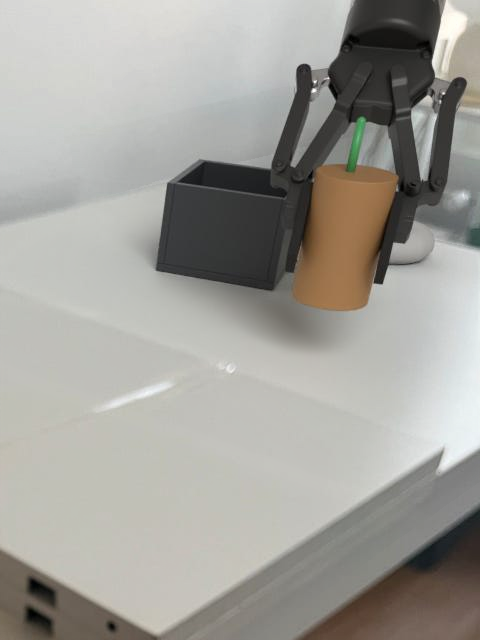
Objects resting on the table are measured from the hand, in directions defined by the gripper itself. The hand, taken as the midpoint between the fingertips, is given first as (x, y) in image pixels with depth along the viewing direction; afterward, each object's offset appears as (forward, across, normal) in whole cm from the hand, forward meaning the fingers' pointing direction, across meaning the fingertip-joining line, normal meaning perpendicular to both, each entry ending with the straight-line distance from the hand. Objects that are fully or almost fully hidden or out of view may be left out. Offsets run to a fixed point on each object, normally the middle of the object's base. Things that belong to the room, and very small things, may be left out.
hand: (335, 269), depth 83 cm
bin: (-14, +12, -26) cm, 32 cm away
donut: (-22, -5, -35) cm, 41 cm away
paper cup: (0, 0, -5) cm, 5 cm away
